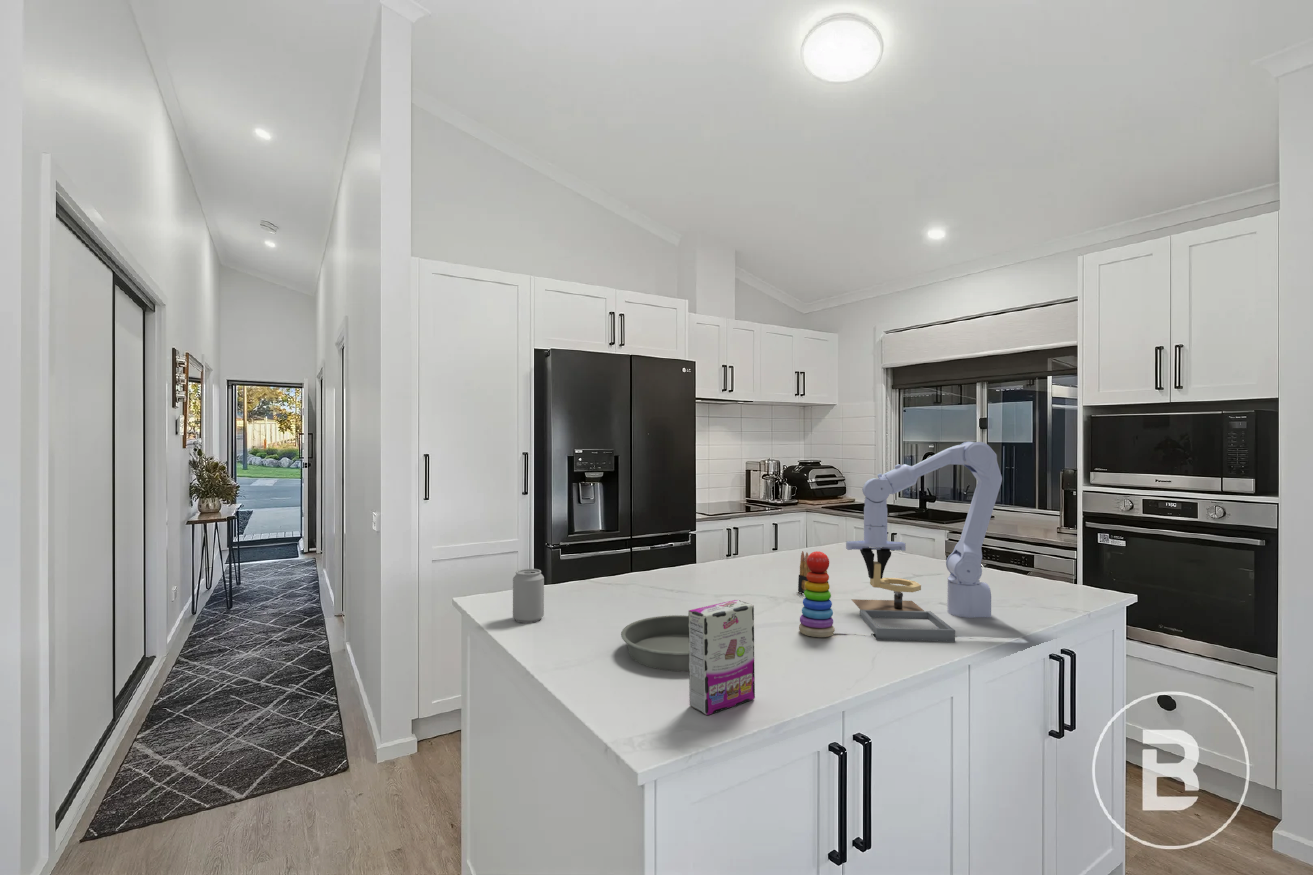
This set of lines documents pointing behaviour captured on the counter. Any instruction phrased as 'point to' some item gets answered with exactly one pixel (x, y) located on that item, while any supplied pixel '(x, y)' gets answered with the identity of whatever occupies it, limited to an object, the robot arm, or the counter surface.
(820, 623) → the stacking toy
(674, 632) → the cake pan
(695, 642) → the candy bar box
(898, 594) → the stake
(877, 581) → the ring
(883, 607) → the stake board
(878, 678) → the counter surface
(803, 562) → the ammunition clip
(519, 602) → the can
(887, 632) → the tray
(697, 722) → the counter surface
